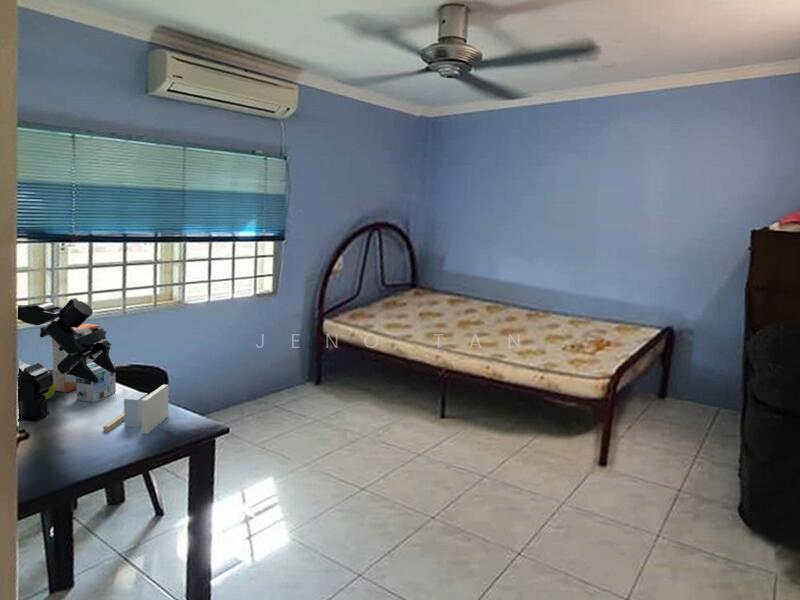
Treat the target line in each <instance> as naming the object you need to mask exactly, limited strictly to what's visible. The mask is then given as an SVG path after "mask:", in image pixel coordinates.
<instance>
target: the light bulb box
mask: <svg viewBox="0 0 800 600" xmlns="http://www.w3.org/2000/svg"><path fill="white" fill-rule="evenodd" d="M111 362H112V364H113V366H114V368H115V369H116V362H114V361H111ZM87 366H88V367H89V368H90V370H91V371H92V372H93V373H94V374H95V375H96V377H97V378H98V379H99V381H98V382H97V383H94V382H91V381H88V380H86V379H83V378H80V377H76V400H78V401H84V402H91V403H95V402H97V401H100V400H103V399H104V397H105V398H106V397H109V396H111V394H112V395H113V393H114V394H116V393H117V392H116V391H117V388H116V387H117V386H116V372H115V373H111V372H109V371H107V370H105V369H104V368H102V367H100V366H99V365H97V364H95V363H93V362H92V363H89V364H87ZM115 392H116V393H115Z"/></svg>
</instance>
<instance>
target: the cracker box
mask: <svg viewBox="0 0 800 600" xmlns="http://www.w3.org/2000/svg"><path fill="white" fill-rule="evenodd" d="M99 326H100V325H97V324H94V323H82V324H81V325H80V326H79V327H78V328H74V327H72V328H73V329H74V330H75V331H76V332H77V333H84V334H85V335H87V334H90V333H92V329H94V328H96V327H99ZM51 340H52V341H51V345H52V348H51V349H52V375H53V382H54V384H55V392H56V391H57V392H60V393H68V392H69V393H70V392H71V391H75V390H76V391H77V389H76V376H73V375H67V373H64V374H61V373H60V372H59V371H58V367H57V365H58V364H59V363H60V362H61V361H62V360H63V359H64V358H65V357H66V356H67V355H68V354H67V353H66V352H65V351H64V350H63V351H60V350H59V348H60V346H59V345H58V344H57V343H56V342H55V341H54V340H53V339H52V338H51ZM95 344H96V343H95ZM91 348H92V347H91ZM92 361H93V360H92V359H89V358H86V362H87V364H89V363H92ZM68 372H69V371H68Z"/></svg>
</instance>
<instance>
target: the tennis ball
mask: <svg viewBox="0 0 800 600" xmlns="http://www.w3.org/2000/svg"><path fill="white" fill-rule="evenodd" d="M55 393H56V390H55V384H54V382H53V385H52V386H51V387H50V389H49V392H48V393H45V394H43V395H45V399H46V400H48V399H50V398H52V397H53V396H54V395H55Z"/></svg>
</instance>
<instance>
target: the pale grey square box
mask: <svg viewBox="0 0 800 600" xmlns="http://www.w3.org/2000/svg"><path fill="white" fill-rule="evenodd" d="M148 395H149V394H148V392H137V391H134V392H132V393H131V394H129V395H127V397H125V398H124V399H123V412H124V421H123V422H124V428H132V427H134V429H135V428H136V429H138V428H140V427H142V408H141V400H142V399H144V398H145V397H146V396H148Z"/></svg>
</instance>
